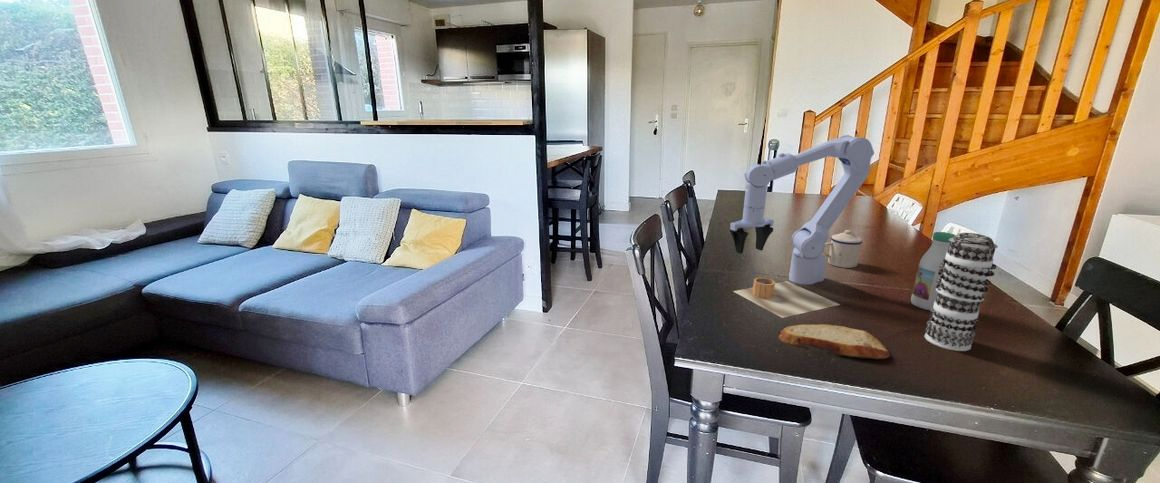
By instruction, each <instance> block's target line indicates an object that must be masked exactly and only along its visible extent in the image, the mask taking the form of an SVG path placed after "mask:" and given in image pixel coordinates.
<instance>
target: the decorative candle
mask: <svg viewBox="0 0 1160 483" xmlns="http://www.w3.org/2000/svg"><path fill="white" fill-rule="evenodd" d="M954 235H955V236H954V237H953V238H949V241H950V245H949V249H948V251H947V253H946V257H945V259H946V260H945V259H943V260H942V261H943V262H944V263H941V264H940V266H939V268H940V270H939V272H938V274H939V276H940V278H938V281H937V285H936V287H935V288H936V291H937V292H938V294H937V298H936V300H935V302H934V306H933V307H932V308H931V310H929V311H930V314H929V315H928V318H929V320H927V322H926V326H927V327H926V328H925V330H924V331H925V334H924V335H923V336H924V339H925V340H926V341H927V342H929V343H930V344H931V345H935V346H937V347H940V348H942V349H945V350H949V351H955V352H966V351H970V350H971V349H972V344H974V338H975V336H976V332H974V331H976V330H977V328H978V325H977V324H979V321H980V319H979V314H980V306H981V302H983V301H985V299H986V296H985V295H984V294H983V293H986V292H989V290H990V289H989V287H987V286H990V285H991V283H992V282H991V280H990V279H989V278H991V277H993V276H995V273H994V271H992V270H996V269H997V265H996V264H994V255H995V252H996V249H998V247H999V246H998V245H997V244H996V243H994V240H993V238H992V237H990V236H987V235H985V234H981V233H974V232H973V233H972V232H960V233H957V234H954ZM944 265H945V267H944ZM942 273H943V274H942ZM988 277H989V278H988Z"/></svg>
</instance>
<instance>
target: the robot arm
mask: <svg viewBox="0 0 1160 483" xmlns="http://www.w3.org/2000/svg"><path fill="white" fill-rule="evenodd" d="M874 155H875V151H874V149H873V145H872V142H871V141H870V140H869V139H868V138H865V137H857V136H852V135H841V136H840V137H837V138H831V139H830V140H828V141H824V142H823V143H820V144H818V145H815V146H812V147H811V148H808V149H806V150H802V151H801V152H799V153H797V154H791V153H787V152H786V153H784V152H781V153H779V154H777V156H776V157H774V158H771V159H769V160H765V159H764V160H762V161H761V163H760V164H759V163H755V164H752V165H750V166H749V167H748V168H747V169H746V171H745V173H744V178H745V180H746V185H745V186H746V187H745V192H744V193H745V194H744V201H743V211H742V218H741V220H737V221H734V222H730V226H729V232H730V234H731V236H732V240H733V242H734V248H735V253H737V254H740V255H742V254H743V253H744V248H745V243H746V239H747V238H748V235H749V232H746V231H745V230H746V229H747V230H748V229H752V228H753V229H755V249H756V250H758V251H763V250H764V247H765V245H766V243H767V240H768V239H769V238H770V236H771V234H772V233H773V232H774V221H775V219H773V218H770V217H769V218H765V217H764V216H765V209H766V208H765V207H766V199H767V188H768V185H769V184H770V183H771V182H772V181H775V180H777V179H780V178H783V177H786V176H789V175H791V174H794V173H795V172H796V171H797V170H798V168H799V167H800V166H804V165H806V164H810V163H812V162H817V161H818V160H821V159H825V158H827V157H828V158H829V157H830V158H831V157H832V158H837V159H838V161H840V163H841V165H842V168H843V172H844V173H843V175H842V176H841V177H840V179H839V180H838V182H837V183H836V184H835V186H834V187H833V189H832V190H831V191H830V193H829V194H828V196H827V198H825V200H824V202H823V203H822V205H820V207H819V208H818V210H817V211H816V213H815V215H814V216H813V217H812V218H811V220H809V221H807V222H805V223H804V224H803V225H802V227H800V228H799V229H797V230H796V231H794V233H793V234H792V236H791V243H792V245H793V247H794V248H793V250H792V254H791V261H790V267H789V268H790V269H789V274H788V279H789V281H791V282H793V283H794V284H800V285H814V284H815V283H819V282H820V283H821V282H823V281H824V280H825V272H826V267H827V261H826V258H825V256H824V255H823V254H822V252H823V251H824V252H825V247H826V246H825V243H827V241H828V240H829V232H830V229H831V227H832V226H833V225H834V223H835V222H836V220H838V218H839V217H840V215H841V214H842V213H843V211H844V210H845V208H846V207H847V206H848V204H849V202H850V201H851V200H852V199H853V197H854V196H855V195H856V193H857V192H858V190H859V189H860V187H862V185H863V184H864V182H865V181H866V179H867V178H868V176H869V173H870V168H871V161H872V158H873V156H874Z"/></svg>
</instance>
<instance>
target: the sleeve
mask: <svg viewBox="0 0 1160 483" xmlns="http://www.w3.org/2000/svg"><path fill="white" fill-rule="evenodd" d="M758 281H767V282H769V283H770V284H761V283H759V282H758ZM775 283H776V281H775V280H774V279H772V278H769V277H756V278H754V279H753V284H752V288H753V291H752V294H753V295H754V296H756V297H759V298H764V299H770V298H772V297H773V295H774V287H775Z"/></svg>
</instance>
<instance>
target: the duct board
mask: <svg viewBox="0 0 1160 483" xmlns="http://www.w3.org/2000/svg"><path fill="white" fill-rule="evenodd" d="M758 282H759V283H761V284H770V283H769V282H767V281H758ZM752 291H753V287H748V288H744V289H743V288H742V289H737V290H733V291H732V292H733V293H735V294H737V295H739V296H741V297H743V298H745V299H747V300H748V301H749V302H752V303H754V304H756V305H757V306H759V307H762V309H764V310H766V311H768V312H771V313H773V315H776V316H778V317H780V318H781V319H784V318H785V319H786V318H788V317H789V318H790V317H793V316H797V315H801V314H805V313H810V312H814V311H819V310H824V309H828V308H833V307H836V306H840V305H841V303H838V302H835V301H834V300H831V299H829V298H826V297H824V296H821V295H819V294H817V293H815V292H813V291H810V290H808V289H805V288H803V287H802V286H800V285H796V283H792V282H790V281H788V280H785V281H780V282H775V287H774V295H773V297H772V298H770V299H764V298H759V297H756V296H754V295H753V294H752Z"/></svg>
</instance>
